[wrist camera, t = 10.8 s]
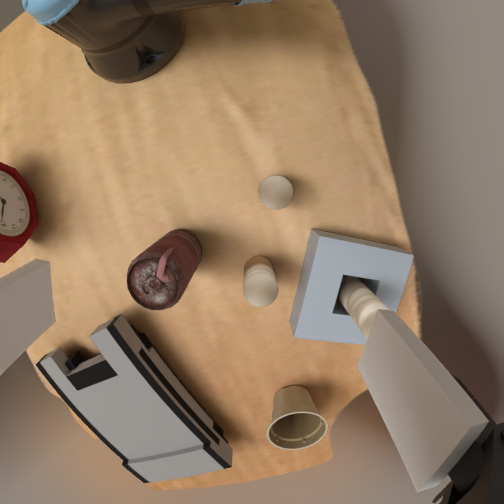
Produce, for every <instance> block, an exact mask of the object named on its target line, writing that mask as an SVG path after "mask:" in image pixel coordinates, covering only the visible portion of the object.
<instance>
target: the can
mask: <svg viewBox="0 0 504 504" xmlns="http://www.w3.org/2000/svg"><path fill="white" fill-rule="evenodd" d="M201 257H202V247H201V244H200V241H199V240H198V239H197V237H196V236H195V235H194V234H192V233H191V232H189V231H186V230H174V231H171V232H169V233H167V234H166V235H165V236H163V237H162V238H161V239H159V240H158V241H157V242H155V243H154V244H153V245H151V246H150V247H149V248H148V249H146V250H145V251H144V252H142V253H141V254H140V255H139V256H137V257H136V258H135V259H134V260H133V261H132V262H131V264H130V266H129V268H128V273H127V286H128V290H129V292H130V294H131V296H132V297H133V299H134V300H135V301H136V302H137V303H138V304H140V305H141V306H143V307H144V308H147V309H150V310H163V309H167V308H170V307H172V306H173V305H175V304H176V303H177V302H178V301H179V300H180V298H181V297H182V295H183V293H184V291H185V289H186V287H187V285H188V284H189V282H190V280H191V278H192V276H193V274H194V272H195V270H196V269H197V267H198V265H199V263H200V261H201Z"/></svg>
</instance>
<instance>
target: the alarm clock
mask: <svg viewBox="0 0 504 504" xmlns="http://www.w3.org/2000/svg"><path fill="white" fill-rule="evenodd" d="M37 226H38V220H37V214H36V207H35V200H34V195H33V193H32V192H31V190H30V189H29V188H28V186H27V185H26V183H25V182H24V180H23V179H22V178H21V176H20V175H19V173H18V172H17V170H16V169H15V168H13V167H10V166H8V165H6V164H3V163H1V162H0V262H3V263H5V262H6V261H7V260H8V259H9V258H10V257H11V256H12V255H13V254H15V253H16V252H17V251H18V250H19V249H20V248H21V247H22V246H23V245H24V244H25V243H26V242H27V240H28V239H29V237H30V236H31V234H32V233H33V232H35V229H36V228H37Z"/></svg>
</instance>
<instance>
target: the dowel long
mask: <svg viewBox="0 0 504 504" xmlns="http://www.w3.org/2000/svg"><path fill="white" fill-rule="evenodd" d="M337 297H338V299H339V300H340V302H341V303H342V304H343V306H344V307H345V309H346V310H347V312H348V313H349V314H350V316H351V317H352V319H353V320H354V322H355V323H356V324H357V326H358V327H359V329H360V330H361V332H362V333H363V335H364V336H365V338H366V339H368V336H369V333H370V330H371V327H372V324H373V321H374V318H375V315H376V311H377V309H380V310H389V309H388V308H387V307H386V306H385V305H384V304H383V302H382V301H381V300H380V299H379V298H378V297H377V296H376V295H375V294H374V293H373V292H372V291H371V290H370V289H369V288H368V287H367V286H366V285H364V284H363V283H362V282H361V281H360V280H359V279H358V278H357V277H355V276H349V275H343V277H342V280H341V284H340V288H339V291H338V295H337Z"/></svg>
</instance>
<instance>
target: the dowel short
mask: <svg viewBox="0 0 504 504" xmlns="http://www.w3.org/2000/svg"><path fill="white" fill-rule="evenodd" d="M259 197H260V200H261V202H262V203H263V204H264V205H265V206H266V207H268V208H270V209H274V210H279V209H282V208H285V207H286V206H287V205H288V204H289V203H290V202H291V200H292V198H293V188H292V185H291V184H290V182H289V181H288V180H287V179H286V178H284V177H282V176H270V177H268V178H266V179H264V180H263V181H262V183H261V184H260V186H259Z"/></svg>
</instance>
